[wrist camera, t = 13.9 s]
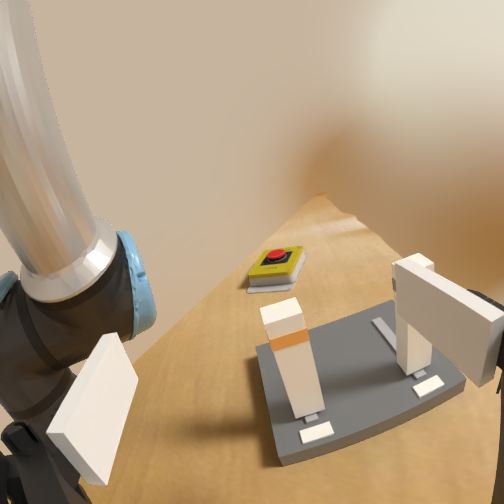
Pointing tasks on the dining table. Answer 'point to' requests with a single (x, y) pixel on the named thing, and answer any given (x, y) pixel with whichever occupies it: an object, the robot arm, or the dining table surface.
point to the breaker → (411, 332)
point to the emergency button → (276, 270)
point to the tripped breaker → (293, 355)
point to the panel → (354, 386)
